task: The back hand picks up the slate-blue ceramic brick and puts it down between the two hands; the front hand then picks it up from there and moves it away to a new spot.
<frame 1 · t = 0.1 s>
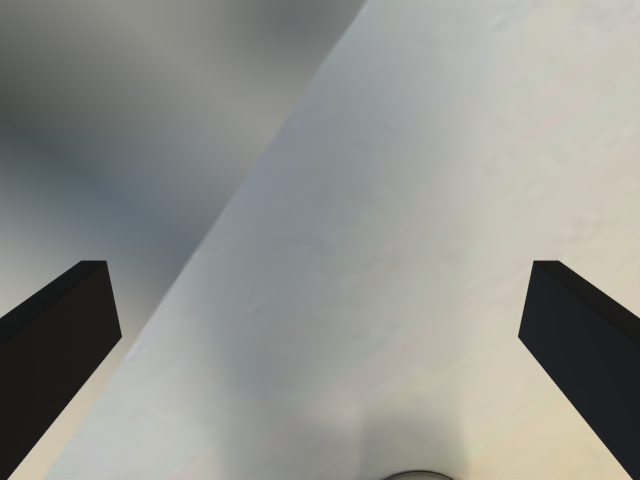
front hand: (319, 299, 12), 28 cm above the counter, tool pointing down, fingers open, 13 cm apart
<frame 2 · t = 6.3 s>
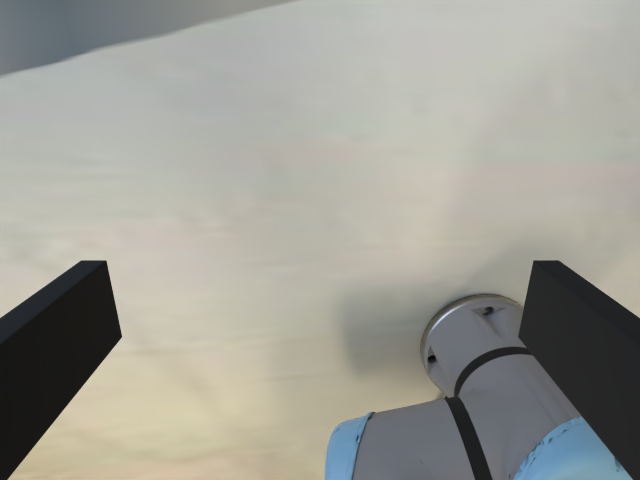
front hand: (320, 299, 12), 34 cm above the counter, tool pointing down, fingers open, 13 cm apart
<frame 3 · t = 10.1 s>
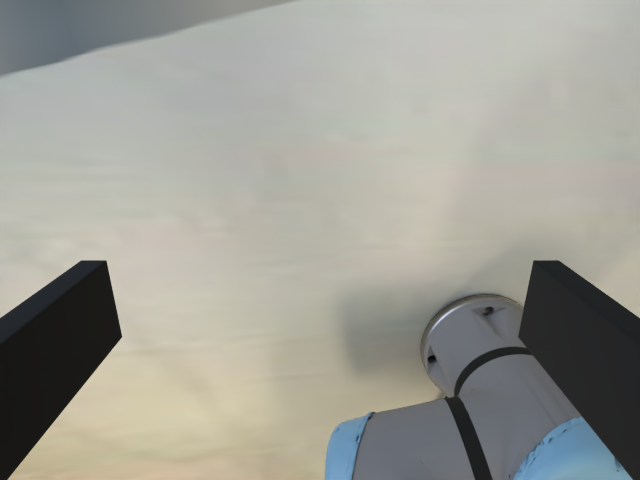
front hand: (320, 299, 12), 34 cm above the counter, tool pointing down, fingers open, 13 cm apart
when the back hand's fingers open (3 cm above the counter, at t = 14.2 s): brick drops 1 cm, on the counter.
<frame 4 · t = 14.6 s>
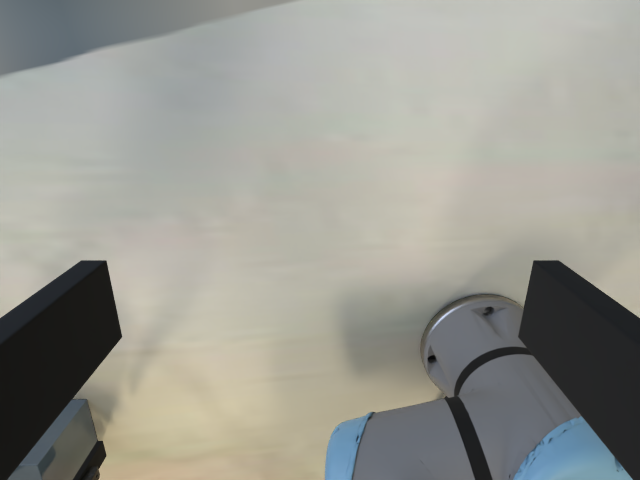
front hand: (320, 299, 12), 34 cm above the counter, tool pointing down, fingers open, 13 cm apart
brick: (74, 423, 58), on the counter
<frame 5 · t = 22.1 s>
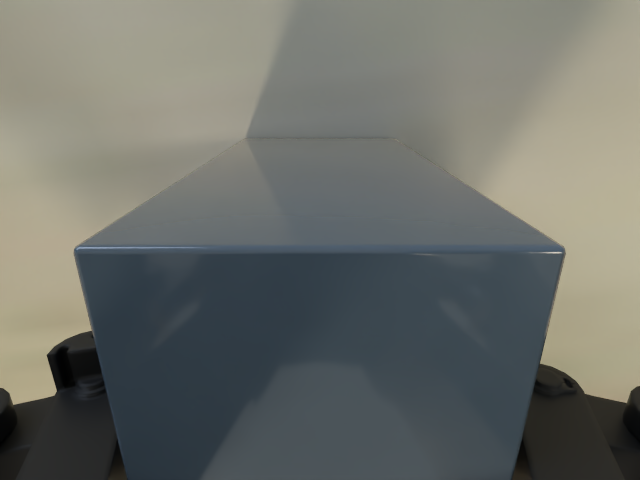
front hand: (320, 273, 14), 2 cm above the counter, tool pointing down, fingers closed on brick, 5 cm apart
brick: (319, 254, 16), on the counter, touching front hand
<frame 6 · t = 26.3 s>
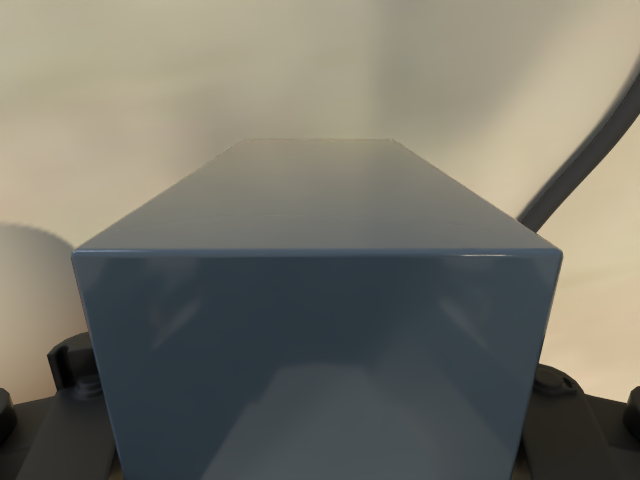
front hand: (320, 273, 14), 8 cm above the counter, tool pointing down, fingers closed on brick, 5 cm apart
brick: (319, 255, 16), point 6 cm above the counter, touching front hand
when the front hand's fingers open (3 cm above the counter, at t = 30.9 s): brick drops 1 cm, on the counter.
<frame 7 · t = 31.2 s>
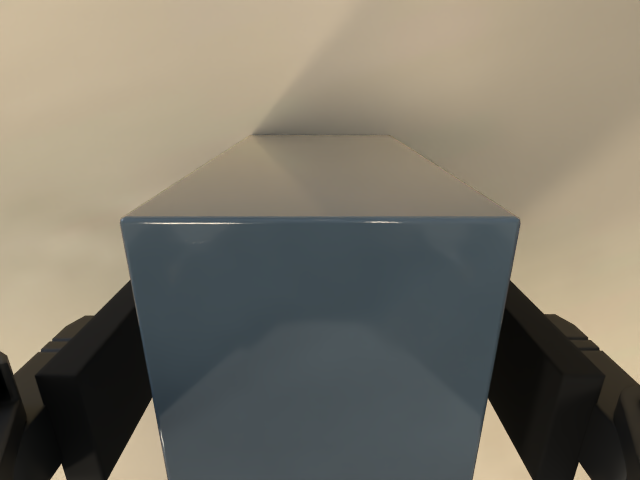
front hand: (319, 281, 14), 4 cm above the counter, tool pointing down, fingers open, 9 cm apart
brick: (320, 244, 17), on the counter
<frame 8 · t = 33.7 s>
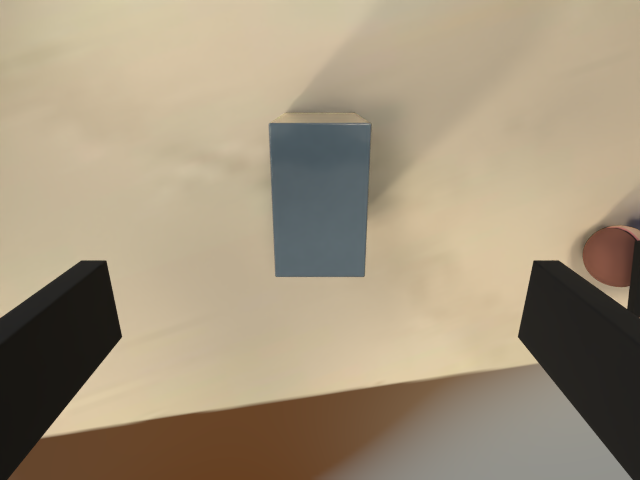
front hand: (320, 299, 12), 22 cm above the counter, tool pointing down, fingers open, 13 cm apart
brick: (320, 170, 33), on the counter
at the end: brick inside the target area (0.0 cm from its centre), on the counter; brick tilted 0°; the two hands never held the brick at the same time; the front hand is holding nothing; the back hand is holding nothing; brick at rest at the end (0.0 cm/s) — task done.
